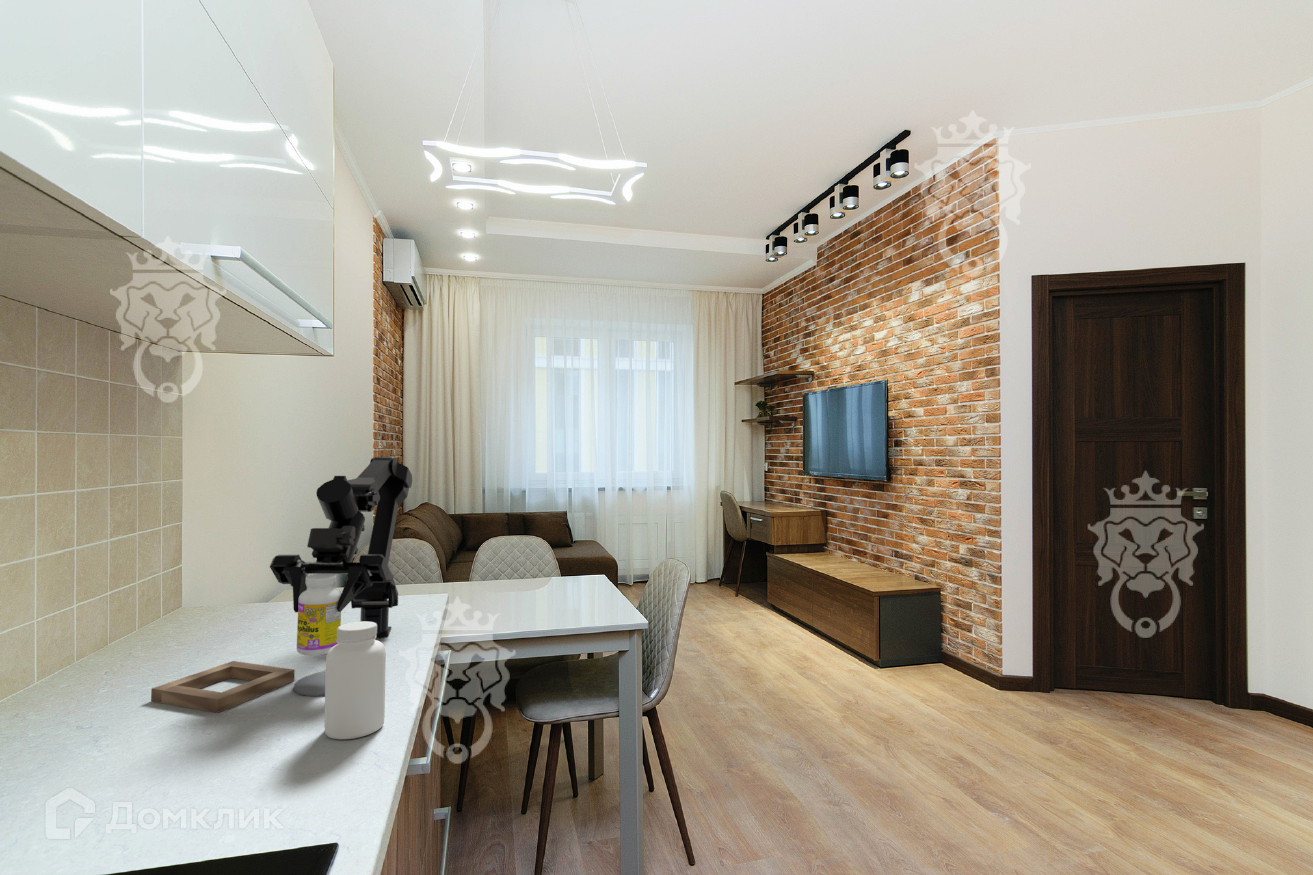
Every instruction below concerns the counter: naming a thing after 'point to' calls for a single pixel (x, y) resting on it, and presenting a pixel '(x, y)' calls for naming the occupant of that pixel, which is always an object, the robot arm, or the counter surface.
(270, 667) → the pocket block
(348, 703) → the pill bottle
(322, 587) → the supplement bottle
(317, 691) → the coaster
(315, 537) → the robot arm
